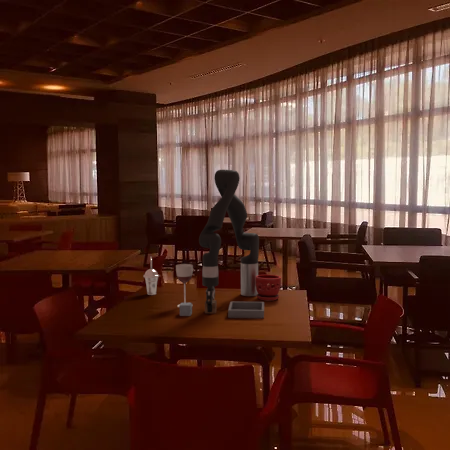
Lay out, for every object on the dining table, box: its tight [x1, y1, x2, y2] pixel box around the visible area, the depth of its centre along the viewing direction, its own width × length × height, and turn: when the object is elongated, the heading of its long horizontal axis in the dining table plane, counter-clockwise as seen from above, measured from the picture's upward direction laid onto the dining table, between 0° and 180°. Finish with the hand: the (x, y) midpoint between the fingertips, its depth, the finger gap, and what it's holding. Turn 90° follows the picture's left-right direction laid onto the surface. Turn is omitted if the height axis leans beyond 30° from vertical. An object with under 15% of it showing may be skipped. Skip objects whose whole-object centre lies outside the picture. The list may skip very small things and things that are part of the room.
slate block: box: [179, 302, 193, 317], centre depth 237 cm, size 5×5×5 cm
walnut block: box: [204, 299, 218, 314], centre depth 241 cm, size 5×5×5 cm
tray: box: [227, 301, 265, 319], centre depth 238 cm, size 16×16×4 cm
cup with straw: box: [143, 256, 160, 296], centre depth 278 cm, size 8×9×20 cm
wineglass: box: [175, 263, 194, 308], centre depth 253 cm, size 8×9×20 cm
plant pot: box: [255, 274, 282, 302], centre depth 265 cm, size 13×13×12 cm
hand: (210, 309), depth 241 cm, fingers open, 7 cm apart
